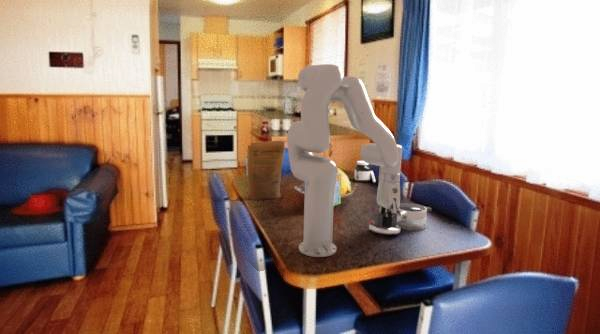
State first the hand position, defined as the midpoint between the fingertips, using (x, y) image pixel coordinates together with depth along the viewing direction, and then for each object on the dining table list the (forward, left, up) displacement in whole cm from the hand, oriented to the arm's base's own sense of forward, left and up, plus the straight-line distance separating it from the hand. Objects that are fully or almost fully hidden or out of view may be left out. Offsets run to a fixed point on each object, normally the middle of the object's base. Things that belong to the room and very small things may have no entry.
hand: (385, 224), depth 153 cm
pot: (+5, -14, -3) cm, 15 cm away
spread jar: (+81, -30, -3) cm, 87 cm away
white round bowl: (0, 0, -2) cm, 2 cm away
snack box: (+36, +12, -3) cm, 38 cm away
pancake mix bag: (+56, +34, -3) cm, 66 cm away
